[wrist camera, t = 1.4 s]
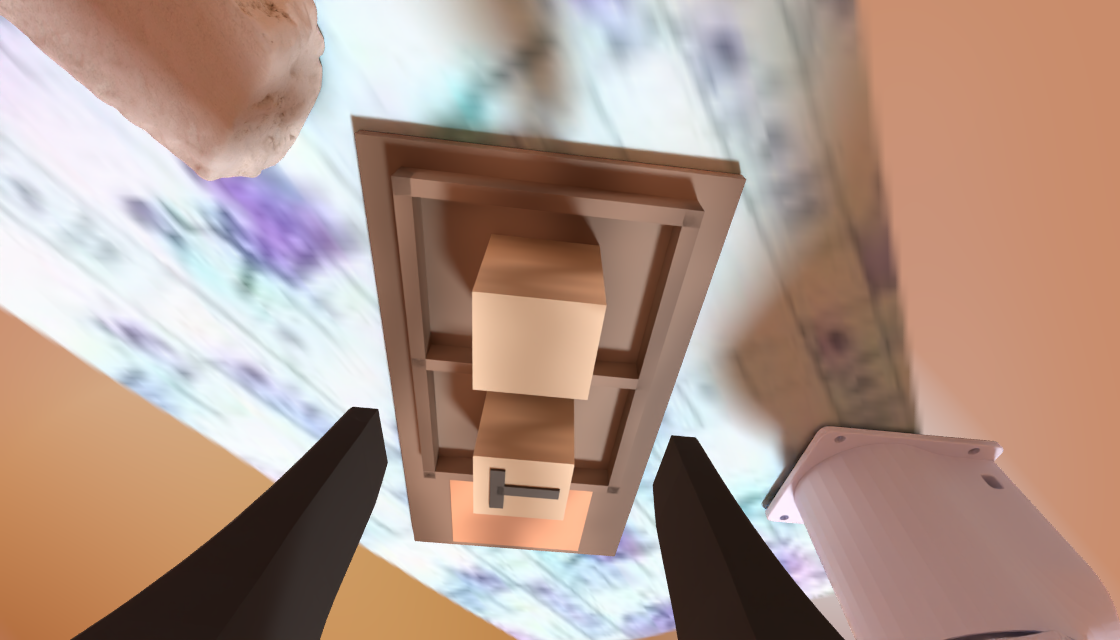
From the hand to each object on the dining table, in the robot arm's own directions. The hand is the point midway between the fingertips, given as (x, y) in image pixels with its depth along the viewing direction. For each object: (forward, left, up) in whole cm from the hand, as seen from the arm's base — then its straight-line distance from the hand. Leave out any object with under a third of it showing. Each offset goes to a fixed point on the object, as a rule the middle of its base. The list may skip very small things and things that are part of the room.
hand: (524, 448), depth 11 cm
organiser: (0, +8, -8) cm, 11 cm away
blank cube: (0, 0, -8) cm, 8 cm away
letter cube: (0, +8, -8) cm, 11 cm away
